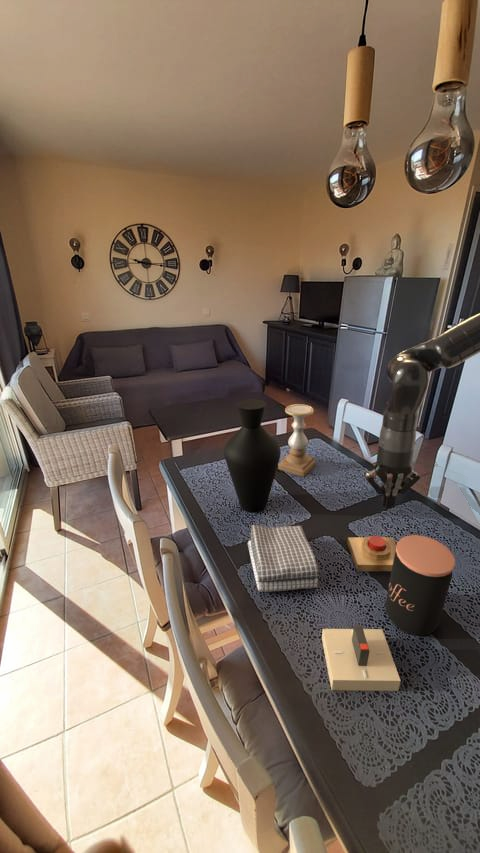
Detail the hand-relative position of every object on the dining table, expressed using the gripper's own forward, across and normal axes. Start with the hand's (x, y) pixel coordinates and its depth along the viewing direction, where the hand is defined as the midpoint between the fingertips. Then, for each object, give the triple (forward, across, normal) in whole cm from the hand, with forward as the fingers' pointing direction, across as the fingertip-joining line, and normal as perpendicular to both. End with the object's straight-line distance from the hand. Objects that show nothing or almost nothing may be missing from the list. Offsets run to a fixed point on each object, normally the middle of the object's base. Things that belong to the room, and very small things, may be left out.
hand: (387, 506), depth 89 cm
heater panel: (+16, +14, +28) cm, 35 cm away
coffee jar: (+16, -1, +18) cm, 24 cm away
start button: (+12, +1, 0) cm, 12 cm away
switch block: (+16, +1, 0) cm, 16 cm away
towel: (+16, +26, +3) cm, 31 cm away
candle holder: (+16, +16, -47) cm, 52 cm away
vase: (+16, +33, -23) cm, 43 cm away
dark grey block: (+13, +14, +28) cm, 34 cm away
